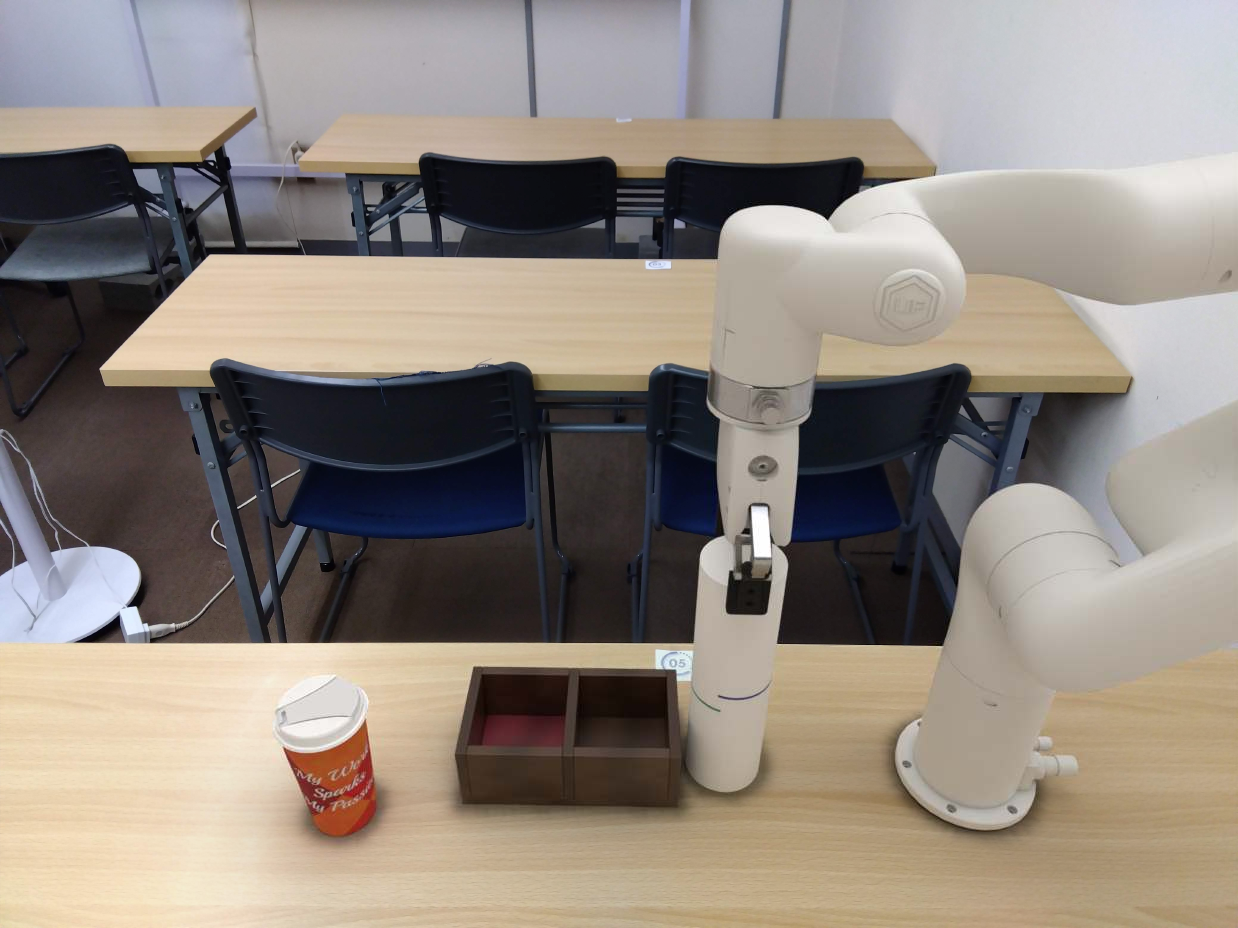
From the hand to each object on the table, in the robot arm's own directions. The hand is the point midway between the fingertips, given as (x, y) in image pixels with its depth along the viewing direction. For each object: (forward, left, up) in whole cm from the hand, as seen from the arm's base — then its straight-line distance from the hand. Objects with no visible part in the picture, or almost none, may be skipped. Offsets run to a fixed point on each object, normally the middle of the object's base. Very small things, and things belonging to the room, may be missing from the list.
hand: (739, 571), depth 70 cm
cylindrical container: (0, 0, -24) cm, 24 cm away
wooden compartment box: (+14, 0, -24) cm, 28 cm away
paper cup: (+35, +6, -24) cm, 43 cm away
